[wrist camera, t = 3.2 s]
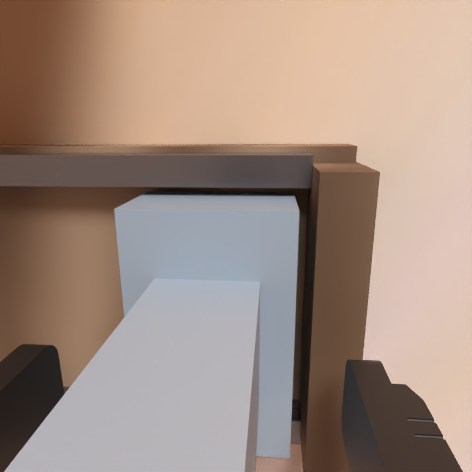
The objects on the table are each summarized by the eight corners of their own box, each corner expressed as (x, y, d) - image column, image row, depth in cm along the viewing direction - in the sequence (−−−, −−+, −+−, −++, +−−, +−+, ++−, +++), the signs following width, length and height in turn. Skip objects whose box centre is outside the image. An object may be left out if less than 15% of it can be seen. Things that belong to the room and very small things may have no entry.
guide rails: (309, 152, 13) (313, 155, 12) (298, 420, 16) (300, 444, 15) (-169, 153, 14) (-208, 155, 13) (-100, 396, 17) (-127, 415, 16)
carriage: (293, 192, 13) (350, 377, 3) (286, 395, 15) (310, 856, 6) (147, 191, 13) (-161, 351, 4) (161, 388, 16) (-15, 803, 6)
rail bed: (348, 144, 14) (381, 152, 10) (330, 401, 17) (349, 494, 13) (-260, 146, 16) (-452, 153, 12) (-182, 372, 19) (-313, 444, 15)
